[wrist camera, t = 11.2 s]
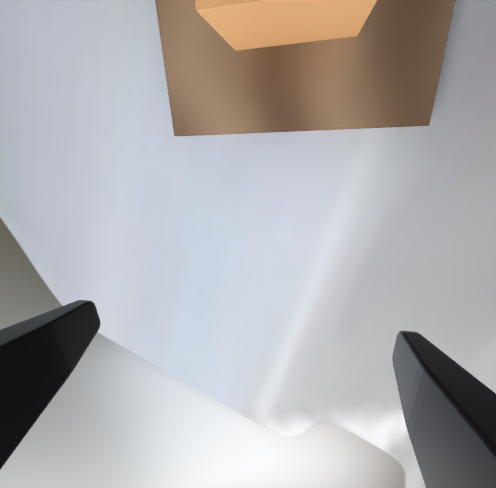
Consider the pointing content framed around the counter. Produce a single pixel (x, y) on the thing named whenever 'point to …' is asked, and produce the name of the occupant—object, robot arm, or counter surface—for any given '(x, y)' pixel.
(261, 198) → the counter surface
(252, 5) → the peach wooden cube
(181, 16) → the post board
